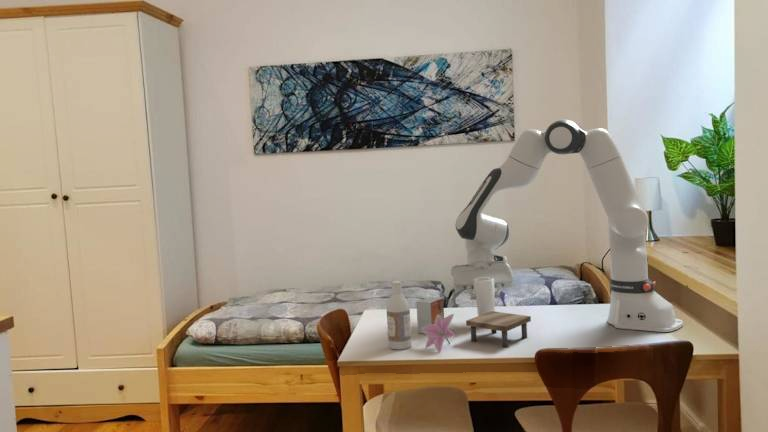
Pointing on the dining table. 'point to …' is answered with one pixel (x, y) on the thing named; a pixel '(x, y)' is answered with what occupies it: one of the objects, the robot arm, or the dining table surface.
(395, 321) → the bath foam
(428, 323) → the small box
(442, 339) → the lily
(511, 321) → the shelf stand
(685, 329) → the dining table surface
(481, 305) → the white tall cup
